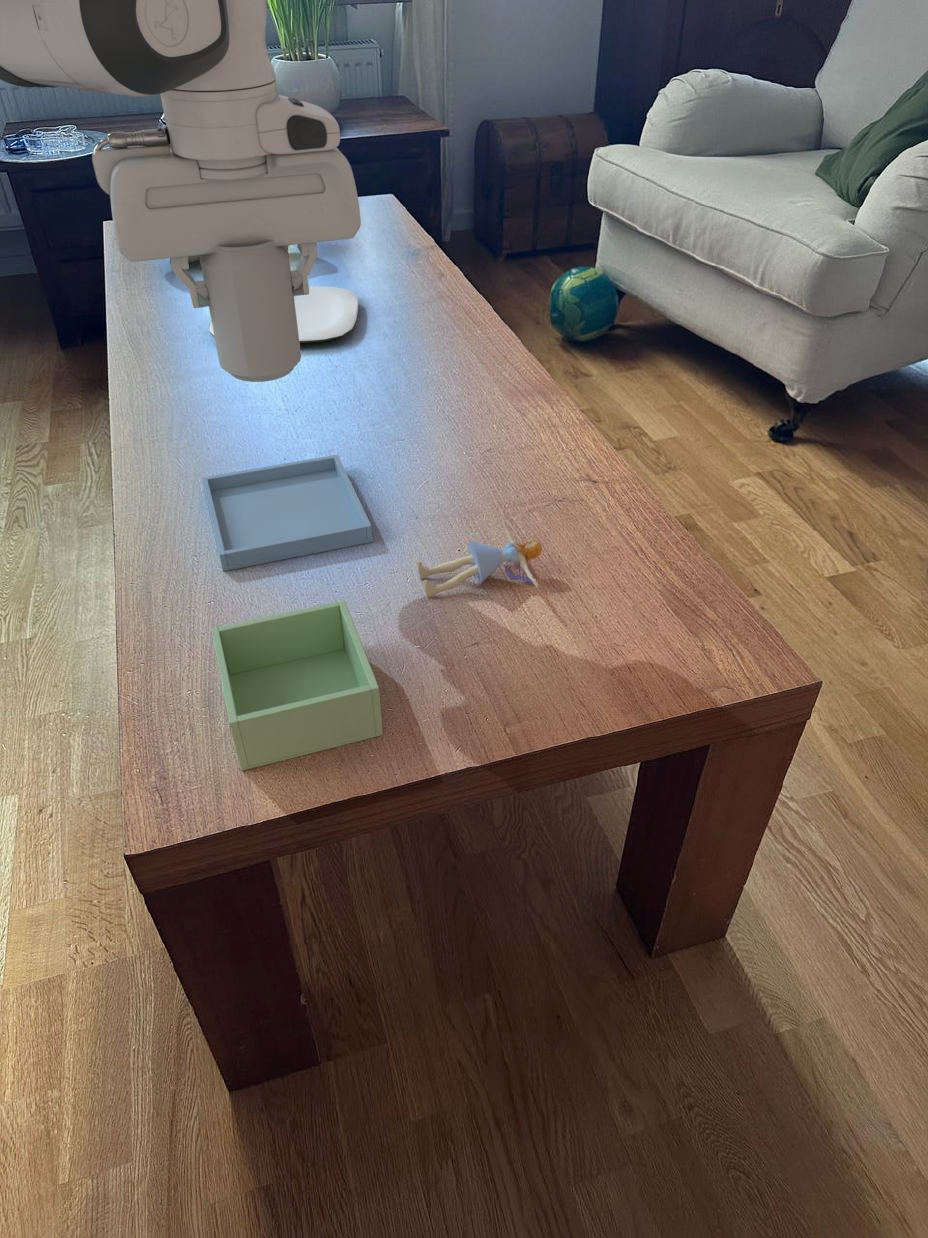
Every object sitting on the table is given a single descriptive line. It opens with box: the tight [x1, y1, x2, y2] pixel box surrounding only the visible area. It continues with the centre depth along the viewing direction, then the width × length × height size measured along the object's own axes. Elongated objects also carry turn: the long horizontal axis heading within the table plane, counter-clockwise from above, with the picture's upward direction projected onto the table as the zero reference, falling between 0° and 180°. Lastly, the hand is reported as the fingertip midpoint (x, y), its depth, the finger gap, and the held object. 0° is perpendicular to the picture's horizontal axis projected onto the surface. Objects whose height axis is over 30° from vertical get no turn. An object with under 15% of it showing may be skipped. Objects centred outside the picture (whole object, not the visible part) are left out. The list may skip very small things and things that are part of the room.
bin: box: [210, 599, 384, 772], centre depth 71 cm, size 11×11×5 cm
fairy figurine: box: [416, 516, 543, 598], centre depth 85 cm, size 12×5×12 cm
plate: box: [208, 285, 360, 344], centre depth 134 cm, size 22×22×2 cm
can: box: [199, 240, 302, 383], centre depth 79 cm, size 8×8×12 cm
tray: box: [201, 454, 374, 572], centre depth 93 cm, size 15×15×2 cm
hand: (251, 299), depth 78 cm, fingers closed on can, 7 cm apart
